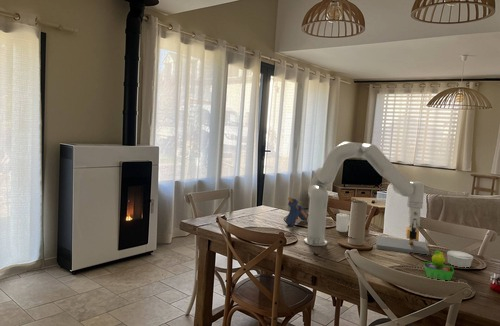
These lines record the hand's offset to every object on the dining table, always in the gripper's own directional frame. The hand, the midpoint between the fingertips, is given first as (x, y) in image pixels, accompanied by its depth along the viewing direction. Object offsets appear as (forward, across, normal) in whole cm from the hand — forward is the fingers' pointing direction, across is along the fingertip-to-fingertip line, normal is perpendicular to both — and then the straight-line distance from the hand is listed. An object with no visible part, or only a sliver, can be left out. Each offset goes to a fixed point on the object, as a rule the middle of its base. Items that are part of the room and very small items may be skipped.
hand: (411, 236), depth 202 cm
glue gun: (+6, +22, +67) cm, 71 cm away
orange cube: (0, 0, 0) cm, 0 cm away
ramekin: (+7, -17, -20) cm, 27 cm away
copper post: (+4, 0, 0) cm, 4 cm away
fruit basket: (+7, -39, -7) cm, 40 cm away
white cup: (+6, +18, +38) cm, 43 cm away
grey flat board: (+6, 0, +5) cm, 8 cm away
